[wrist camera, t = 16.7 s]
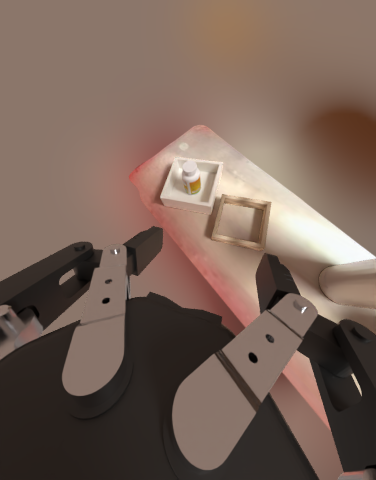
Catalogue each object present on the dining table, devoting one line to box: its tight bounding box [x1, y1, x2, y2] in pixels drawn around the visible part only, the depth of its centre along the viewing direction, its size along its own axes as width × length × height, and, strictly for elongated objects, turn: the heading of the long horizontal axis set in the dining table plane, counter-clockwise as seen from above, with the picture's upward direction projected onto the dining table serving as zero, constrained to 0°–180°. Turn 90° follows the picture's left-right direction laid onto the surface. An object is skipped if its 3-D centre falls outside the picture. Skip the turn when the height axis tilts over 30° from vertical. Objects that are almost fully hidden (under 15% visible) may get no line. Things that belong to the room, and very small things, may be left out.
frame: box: [211, 194, 271, 251], centre depth 43 cm, size 14×14×3 cm
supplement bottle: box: [182, 161, 201, 195], centre depth 45 cm, size 5×5×10 cm
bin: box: [160, 157, 223, 215], centre depth 48 cm, size 16×16×5 cm
